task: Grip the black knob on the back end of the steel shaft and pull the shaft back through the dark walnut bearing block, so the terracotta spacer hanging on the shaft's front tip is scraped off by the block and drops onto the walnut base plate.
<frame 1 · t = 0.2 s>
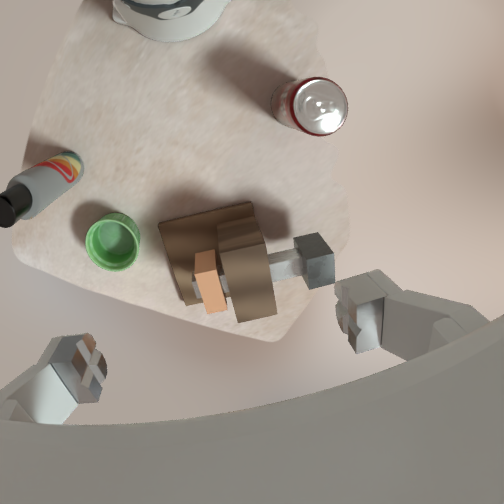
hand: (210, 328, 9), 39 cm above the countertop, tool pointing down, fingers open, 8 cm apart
ramekin: (117, 234, 48), on the countertop
spacer: (210, 270, 48), point 4 cm above the countertop, touching shaft
shaft: (261, 271, 45), point 8 cm above the countertop, slide at 0.0 cm, touching spacer
lotion bottle: (69, 167, 41), on the countertop
soda can: (293, 104, 42), on the countertop
shaft stand: (241, 249, 52), on the countertop
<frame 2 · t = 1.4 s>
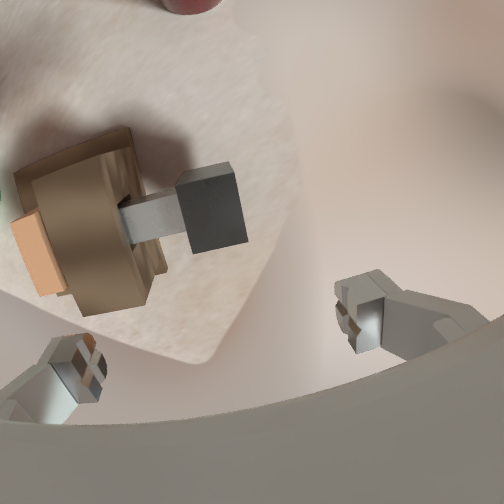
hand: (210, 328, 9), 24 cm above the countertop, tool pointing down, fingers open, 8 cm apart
spacer: (63, 233, 27), point 4 cm above the countertop, touching shaft
shaft: (118, 226, 24), point 8 cm above the countertop, slide at 0.0 cm, touching spacer
shaft stand: (121, 207, 31), on the countertop
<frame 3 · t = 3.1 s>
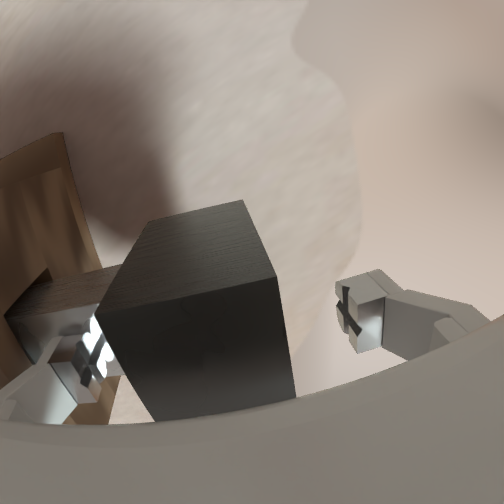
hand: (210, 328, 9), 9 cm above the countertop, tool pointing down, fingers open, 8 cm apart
shaft: (28, 339, 10), point 8 cm above the countertop, slide at 0.1 cm, touching gripper, spacer
shaft stand: (61, 268, 17), on the countertop
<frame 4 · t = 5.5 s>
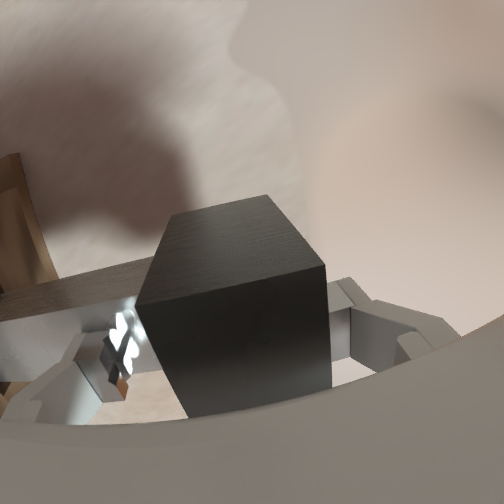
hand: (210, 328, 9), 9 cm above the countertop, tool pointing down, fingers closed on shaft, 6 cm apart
shaft: (45, 336, 10), point 8 cm above the countertop, slide at 4.6 cm, touching gripper
shaft stand: (24, 278, 17), on the countertop
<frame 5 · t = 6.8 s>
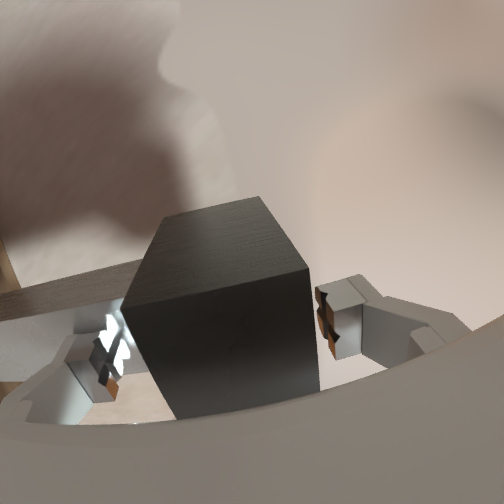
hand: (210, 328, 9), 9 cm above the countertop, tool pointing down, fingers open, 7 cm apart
shaft: (39, 337, 10), point 8 cm above the countertop, slide at 8.1 cm, touching gripper
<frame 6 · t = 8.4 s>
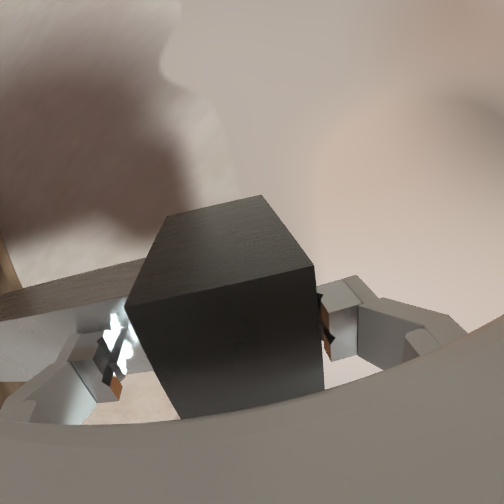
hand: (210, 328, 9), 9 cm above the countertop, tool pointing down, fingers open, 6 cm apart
shaft: (41, 337, 10), point 8 cm above the countertop, slide at 8.1 cm, touching gripper
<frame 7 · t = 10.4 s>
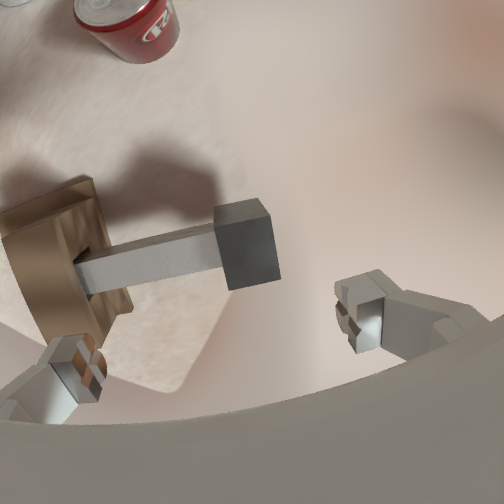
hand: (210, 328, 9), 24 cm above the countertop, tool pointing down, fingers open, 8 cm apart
shaft: (151, 260, 25), point 8 cm above the countertop, slide at 7.6 cm
soda can: (147, 36, 25), on the countertop
shaft stand: (90, 251, 32), on the countertop
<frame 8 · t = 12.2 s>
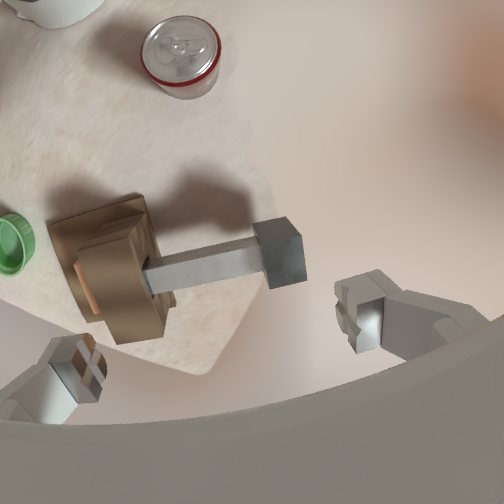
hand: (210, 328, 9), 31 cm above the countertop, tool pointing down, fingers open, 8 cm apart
ramekin: (17, 237, 37), on the countertop
spacer: (107, 267, 39), point 1 cm above the countertop, touching shaft stand
shaft: (206, 266, 34), point 8 cm above the countertop, slide at 7.6 cm
soda can: (189, 73, 33), on the countertop
shaft stand: (139, 257, 41), on the countertop
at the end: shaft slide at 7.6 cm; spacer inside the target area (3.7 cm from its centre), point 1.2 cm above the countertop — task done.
